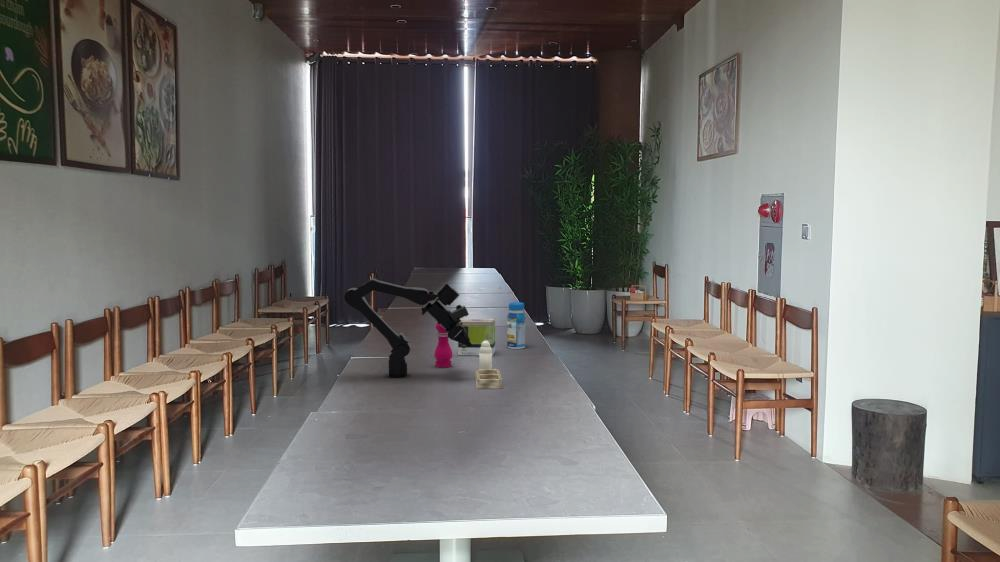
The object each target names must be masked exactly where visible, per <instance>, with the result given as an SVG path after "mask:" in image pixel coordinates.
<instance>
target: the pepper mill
mask: <svg viewBox="0 0 1000 562" xmlns="http://www.w3.org/2000/svg"><path fill="white" fill-rule="evenodd" d="M435 329H436V330H437V333H436V336H437V338H438V339H437V340H438V341H437V345H436V347H435V350H434V355H433V357H434V359H436V360H435V367H437V368H448V367H449V368H450V367H451V366H452V360H451V359H452V358H453V351H452V348H451V346H450V342H449V339H450V338H449V337H448V332H446V331H445V329H444V328H443V327H442V326H441V325H440V324H438V323H437V322H436V324H435Z"/></svg>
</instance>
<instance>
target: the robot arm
mask: <svg viewBox="0 0 1000 562" xmlns="http://www.w3.org/2000/svg"><path fill="white" fill-rule="evenodd" d="M373 291H375V292H380V293H384V294H387V295H392V296H396V297H401V298H405V299H407V300H408V301H409V302H413V303H415V304H416V305H420V306H421V308H420V309H421V315H422V316H424V315H425V314H426V313H427V314H428V315H429V316H431V317H432V318H433V320H435V321H436V323H438V324H440V325H441V326H442V327H443V328H444V329H445V331H446V332H448V337H449V338H448V339H450V340H451V341H454V342H457V343H458V342H460V343H462V344H465V345H467V346H471V345H472V344H471V342H470V338H469V337H468V335H467V334H466V332H465V331H464V327H463V326H462V322H461V320H460V319H463V318H464V317H467V316H469V315H470V314H469V311H468V309H467V307H466V305H461V304H458V305H456V306H455V309H454V310H453V311H451V310H449V309H447V308H446V307H445V306H451V304H452V303H454V302H455V300H457V299H458V298H459V296H460V293H459V292H458V291H457V290H456V289H455V288H454V287H452V286H451V285H450V284H448V282H446V283H445V284H444V285H443V286H442V287H441V288H440V289H439V290H438V291H430V290H428V289H426V288H425V287H416V286H415V287H413V286H412V287H409V286H408V287H407V286H403V285H398V284H394V283H390V282H387V281H382V280H379V279H376V278H370V279H369V280H368V281H367V282H364V283H363V284H361V285H359V286H358V287H352V288H351V287H350V288H349V289H348V290H347V291H346V292H345V294H344V302H345V303H346V304H347V305H348V306H349V307H351V308H352V309H354V310H356V311H358V312H359V313H361V315H362V316H364V317H365V319H366V320H367V321H368V322H369V323H370V324H372V326H374V328H375V329H376V330H378V332H379V333H380V334H381V335H382V336H383V337H384V338H385V339H386V340H387V342H388V344H389V345H390V347H391V350H390V351H389V354H388V375H387V377H388V378H405V377H406V376H407V375H408V372H409V371H408V370H409V369H408V365H409V363H408V362H407V356H408V355H409V354H410V353H411V352H410V351H411V343H410V338H408V337H407V336H406V335H405V334H404V332H403V331H400V333H398V332H396V331H395V330H394V329H393V328H392V327H391V326H390V325H389V324H388V323H387V322H386V321H385V320H384V319H383V318H382V317H381V316H380V314H379V313H377V312H376V311H375V310H374V308H373V307H372V306H371V305H370V304H369V303H368V301H367V299H366V298H365V296H367V295H369V294H371V292H373ZM459 322H460V323H459Z"/></svg>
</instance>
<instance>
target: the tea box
mask: <svg viewBox="0 0 1000 562" xmlns="http://www.w3.org/2000/svg"><path fill="white" fill-rule="evenodd" d="M495 319H496V318H460V320H461V322H462V326H463V327H464V331H465V332H466V334H467V335H468V337H469V338H470V342H471V344H472V345H471V346H467V345H465V344H462V343H460V342H457V351H458V353H457V354H458V356H478V357H479V349H480V347H481V343H482V342H483V341H488V342H489V343H490V347H491V348H492V357H493V356H494V354H495V351H496V320H495ZM459 323H460V322H459Z"/></svg>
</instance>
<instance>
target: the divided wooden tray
mask: <svg viewBox="0 0 1000 562" xmlns="http://www.w3.org/2000/svg"><path fill="white" fill-rule="evenodd" d="M474 377H475V378H474V379H475V385H476V389H477V390H480V389H482V390H483V389H484V390H485V389H490V390H491V389H503V385H504V384H503V378H502V376H501V371H500V369H499V368H497V369H495V368H494V369H493V368H492V369H479V368H478V369H475V375H474Z"/></svg>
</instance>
